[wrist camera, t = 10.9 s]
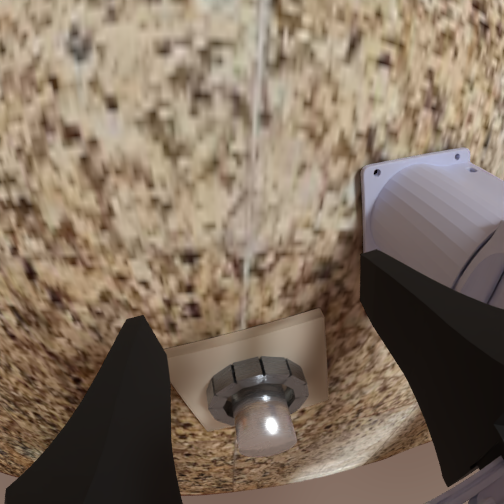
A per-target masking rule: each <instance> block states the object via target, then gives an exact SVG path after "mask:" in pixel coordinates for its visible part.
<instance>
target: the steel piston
mask: <svg viewBox="0 0 504 504" xmlns="http://www.w3.org/2000/svg"><path fill="white" fill-rule="evenodd" d="M231 402H232V409H233V416H234V422H235V429H236V435H237V442H238V448H239V452H240V453H241V454H242V455H244V456H248V457H267V456H272V455H276V454H280V453H282V452H285V451H287V450H289V449H290V448H292V447H293V446H294V445H295V444H296V443H297V437H296V434H295V430H294V427H293V423H292V419H291V416H290V412H289V408H288V405H287V401H286V397H285V394H284V390H283V386H282V384H271V383H262V384H258V385H254V386H251V387H247V388H243V389H241V390H239V391H238V392H236V393H235V394H233V395H231Z"/></svg>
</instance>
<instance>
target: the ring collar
mask: <svg viewBox="0 0 504 504" xmlns="http://www.w3.org/2000/svg"><path fill="white" fill-rule="evenodd" d="M233 365H234V366H233ZM233 365H231V364H230V365H228V366H227V367H225V368H224V369H222V370H221V371H219V372H218V373H217V374H215V375H214V376H213V378H211V380H210V383H209V385H208V388H207V390H206V394H207V402H208V410H209V411H210V413H211V414H212V416H213V417H214V419H215V420H216V419H217V421H219V422H222V423H225V424H228V425H231V426H234V425H235V422H234V416H233V409H232V402H230V401H228V400H227V398H228V397H230V396H231V395H233V394H235V393H236V392H238V391H239V390H241V389H243V388H247V387H251V386H254V385H258V384H262V383H271V384H283V385H285V386H287V388H286V390H285V391H284V394H285V397H286V401H287V405H288V408H289V412H290V414H292V413H294V412H296V411H297V409H300V407H301V406H302V405H303V403H304V402H305V401H306V400H307V398H308V396H309V392H308V385H307V382H306V379H305V376H304V373H303V371H302V368H301V366H299V365H297V364H296V363H294V362H292V361H291V360H289V359H287V358H286V359H285V358H284V357H269V356H261V357H260V359H259V358H258V356H257V357H254V358H250V359H246V360H242V361H238V362H234V363H233Z"/></svg>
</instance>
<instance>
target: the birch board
mask: <svg viewBox="0 0 504 504" xmlns="http://www.w3.org/2000/svg"><path fill="white" fill-rule="evenodd" d="M164 351H165V352H166V354H167V359H168V367H169V375H170V382H171V384H172V385H173V386H174V388H175V389H176V391H177V392H178V393H179V395H180V396H181V398H182V399H183V400H184V402H185V403H186V404H187V406H188V407H189V408H190V410H191V411H192V412H193V414H194V415H195V416H196V417H197V419H198V420H199V421H200V423H201V424H202V425H203V426H204V428H205V429H206V430H207V431H213V430H218V429H223V428H228V427H233V426H231V425H228V424H225V423H222V422H219V421H217V419H216V420H215V419H214V417H213V416H212V414H211V413H210V411H209V410H208V402H207V394H206V390H207V388H208V385H209V383H210V380H211V378H213V376H214V375H215V374H217V373H218V372H219V371H221V370H222V369H224V368H225V367H227V366H228V365H230V364H231V365H233V363H234V362H238V361H242V360H246V359H250V358H254V357H257V356H258V358H259V359H260V357H261V356H269V357H284V358H285V359H286V358H287V359H289V360H291V361H292V362H294V363H296V364H297V365H299V366H301V368H302V371H303V373H304V376H305V379H306V382H307V385H308V392H309V396H308V398H307V400H306V401H305V402H304V403H303V405H302V406H301V407H300V409H302V408H305V407H309V406H312V405H315V404H318V403H321V402H324V401H327V400H329V397H328V371H327V351H326V334H325V320H324V315H323V313H322V311H321V309H320V308H317V309H314V310H311V311H307V312H304V313H301V314H298V315H294V316H291V317H287V318H284V319H281V320H277V321H274V322H270V323H266V324H263V325H259V326H256V327H252V328H248V329H245V330H241V331H237V332H233V333H230V334H226V335H222V336H218V337H214V338H210V339H206V340H202V341H198V342H194V343H189V344H185V345H181V346H177V347H172V348H168V349H164ZM233 366H234V365H233ZM282 386H283V390H284V391H285V390H286V388H287V386H285V385H283V384H282ZM227 400H228V401H230V402H231V396H230V397H228V398H227ZM297 410H299V409H297ZM234 426H235V425H234Z"/></svg>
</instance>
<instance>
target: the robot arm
mask: <svg viewBox="0 0 504 504" xmlns="http://www.w3.org/2000/svg"><path fill="white" fill-rule="evenodd" d="M455 155H456V157H455ZM376 169H378V171H377V173H376V174H375V175H374V171H375V170H376ZM361 190H362V213H363V254H360V255H361V274H360V301H361V303H362V305H363V307H364V309H365V311H366V314H367V315H368V317H369V319H370V321H371V323H372V325H373V327H374V328H375V330H376V331H377V333H378V334H379V336H380V338H381V339H382V341H383V342H384V344H385V345H386V347H387V348H388V350H389V351H390V353H391V354H392V356H393V358H394V359H395V361H396V362H397V364H398V365H399V367H400V369H401V370H402V372H403V373H404V375H405V377H406V379H407V381H408V382H409V384H410V387H411V389H412V391H413V393H414V395H415V397H416V400H417V402H418V404H419V406H420V409H421V411H422V414H423V416H424V419H425V421H426V424H427V426H428V429H429V432H430V435H431V438H432V441H433V443H434V446H435V450H436V453H437V457H438V460H439V464H440V467H441V471H442V476H443V479H444V481H445V483H446V485H447V486H448V487H449V486H451V485H452V484H454V483H456V482H457V481H459V480H461V479H462V478H464V477H466V476H467V475H469V474H470V473H472V472H473V471H475V470H476V469H478V468H479V469H480V471H478V472H477V473H475V474H474V475H472V476H471V477H469V478H468V479H466V480H465V481H463V482H462V483H460V484H458V485H456V486H455V487H453V488H452V489H450V490H448V491H446V492H445V493H443V494H441V495H439V496H438V497H436V498H434V499H432V500H431V501H428V502H427V503H425V504H463V503H464V502H466V501H468V500H469V499H470V500H469V502H468V504H504V181H503V180H502V179H500V178H498V177H496V176H495V175H493V174H491V173H489V172H487V171H486V170H484V169H482V168H480V167H478V166H476V165H474V164H473V163H471V162H470V151H469V149H467V148H464V147H463V148H457V149H451V150H445V151H439V152H433V153H427V154H422V155H416V156H411V157H405V158H400V159H395V160H390V161H385V162H380V163H375V164H370V165H366V166H364V167H363V168H362V170H361ZM5 504H183V503H182V500H181V495H180V491H179V486H178V481H177V476H176V471H175V465H174V459H173V453H172V443H171V397H170V375H169V367H168V359H167V354H166V352H165V351H164V349H163V348H162V346H161V344H160V343H159V341H158V339H157V338H156V336H155V334H154V333H153V331H152V329H151V327H150V326H149V324H148V322H147V321H146V319H145V317H144V315H142V316H138V317H134V318H130V319H127V320H126V321H125V323H124V325H123V327H122V328H121V330H120V332H119V334H118V336H117V338H116V340H115V342H114V344H113V346H112V348H111V350H110V351H109V353H108V355H107V357H106V359H105V361H104V363H103V365H102V367H101V368H100V370H99V372H98V374H97V376H96V377H95V379H94V381H93V382H92V384H91V386H90V388H89V389H88V391H87V393H86V395H85V396H84V398H83V400H82V401H81V403H80V404H79V406H78V408H77V409H76V411H75V412H74V414H73V415H72V416H71V418H70V419H69V421H68V422H67V424H66V425H65V426H64V428H63V429H62V430H61V431H60V433H59V434H58V435H57V437H56V438H55V439H54V440H53V442H52V443H51V444H50V446H49V447H48V448H47V449H46V450H45V451H44V452H43V454H42V455H41V456H40V457H39V458H38V459H37V460H36V461H35V462H34V463H33V464H32V465H31V467H29V468H28V469H27V470H26V471H25V472H24V473H23V474H22V475H21V476H20V477H19V478H18V479H17V480H16V481H14V482H13V483H12V484H11V485H10V486H9V487H8V488H6V494H5Z"/></svg>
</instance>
